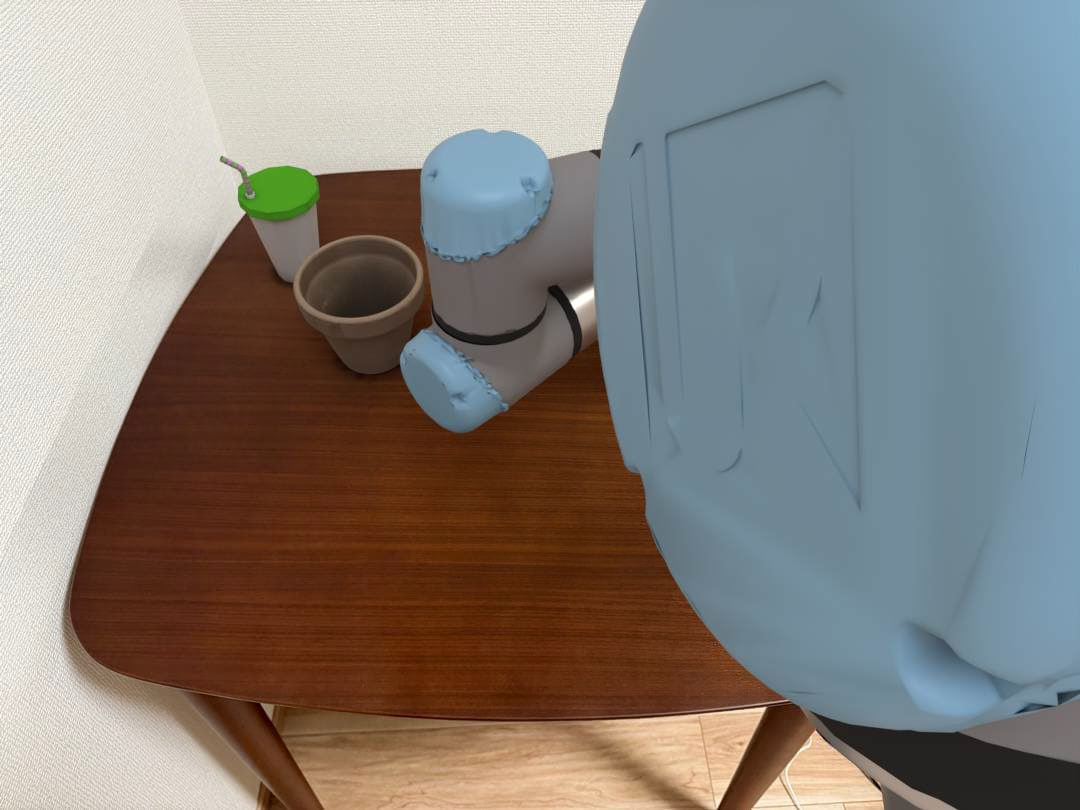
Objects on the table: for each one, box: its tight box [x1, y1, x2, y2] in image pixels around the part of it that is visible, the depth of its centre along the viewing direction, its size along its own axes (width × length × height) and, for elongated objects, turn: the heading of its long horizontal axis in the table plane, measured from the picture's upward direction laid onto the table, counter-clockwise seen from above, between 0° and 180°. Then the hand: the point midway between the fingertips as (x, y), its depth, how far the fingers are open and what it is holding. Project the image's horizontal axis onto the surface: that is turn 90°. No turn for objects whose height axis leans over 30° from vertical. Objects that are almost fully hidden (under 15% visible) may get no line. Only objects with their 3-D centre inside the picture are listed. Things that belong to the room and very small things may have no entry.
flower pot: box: [292, 234, 426, 375], centre depth 76 cm, size 12×11×10 cm
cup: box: [219, 155, 321, 284], centre depth 82 cm, size 8×8×15 cm
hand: (761, 165), depth 72 cm, fingers closed on can, 6 cm apart
